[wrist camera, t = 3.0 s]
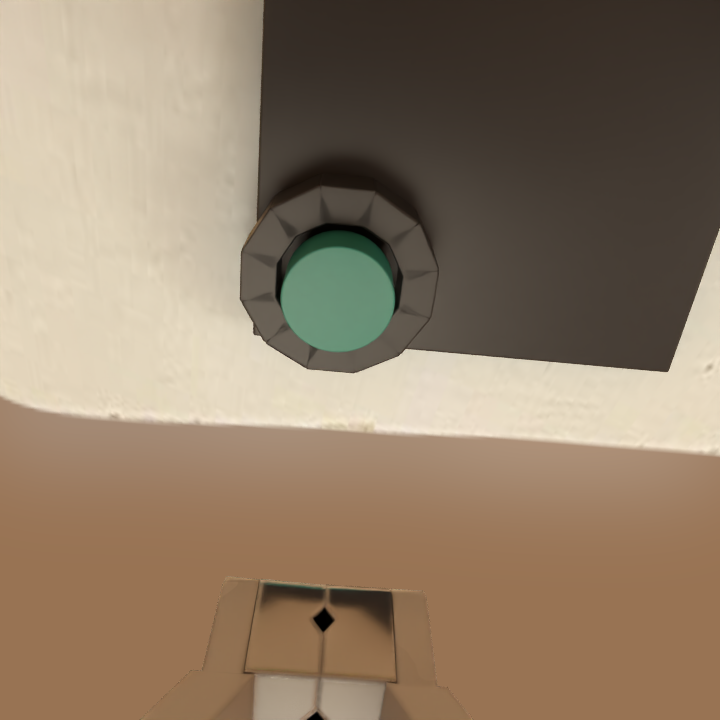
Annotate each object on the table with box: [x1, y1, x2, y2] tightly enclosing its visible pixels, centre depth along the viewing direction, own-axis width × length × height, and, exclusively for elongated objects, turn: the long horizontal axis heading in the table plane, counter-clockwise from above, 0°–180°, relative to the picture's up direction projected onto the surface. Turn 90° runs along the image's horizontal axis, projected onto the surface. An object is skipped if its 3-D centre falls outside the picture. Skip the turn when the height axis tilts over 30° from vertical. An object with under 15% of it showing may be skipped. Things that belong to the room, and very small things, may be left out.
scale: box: [240, 0, 720, 373], centre depth 22 cm, size 16×14×3 cm
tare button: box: [280, 230, 395, 352], centre depth 22 cm, size 4×4×2 cm
